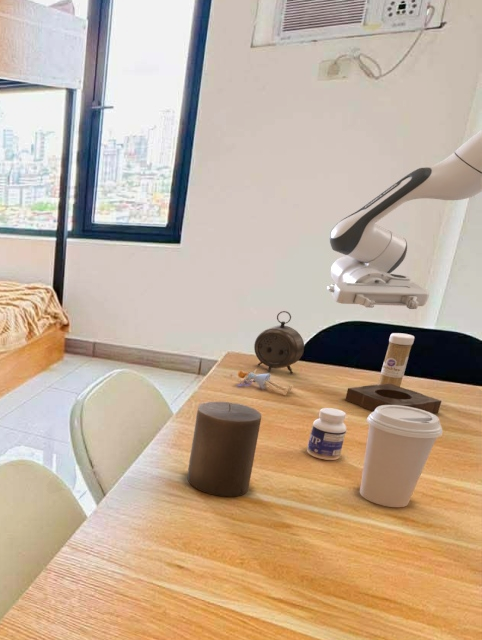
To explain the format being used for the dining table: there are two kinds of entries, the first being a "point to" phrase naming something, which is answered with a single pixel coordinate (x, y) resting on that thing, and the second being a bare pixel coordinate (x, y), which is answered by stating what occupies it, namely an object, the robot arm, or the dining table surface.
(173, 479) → the dining table surface
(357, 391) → the holder base
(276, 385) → the fairy figurine
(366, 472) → the coffee cup
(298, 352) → the alarm clock
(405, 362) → the sprinkles bottle
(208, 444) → the pillar candle
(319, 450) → the pill bottle
